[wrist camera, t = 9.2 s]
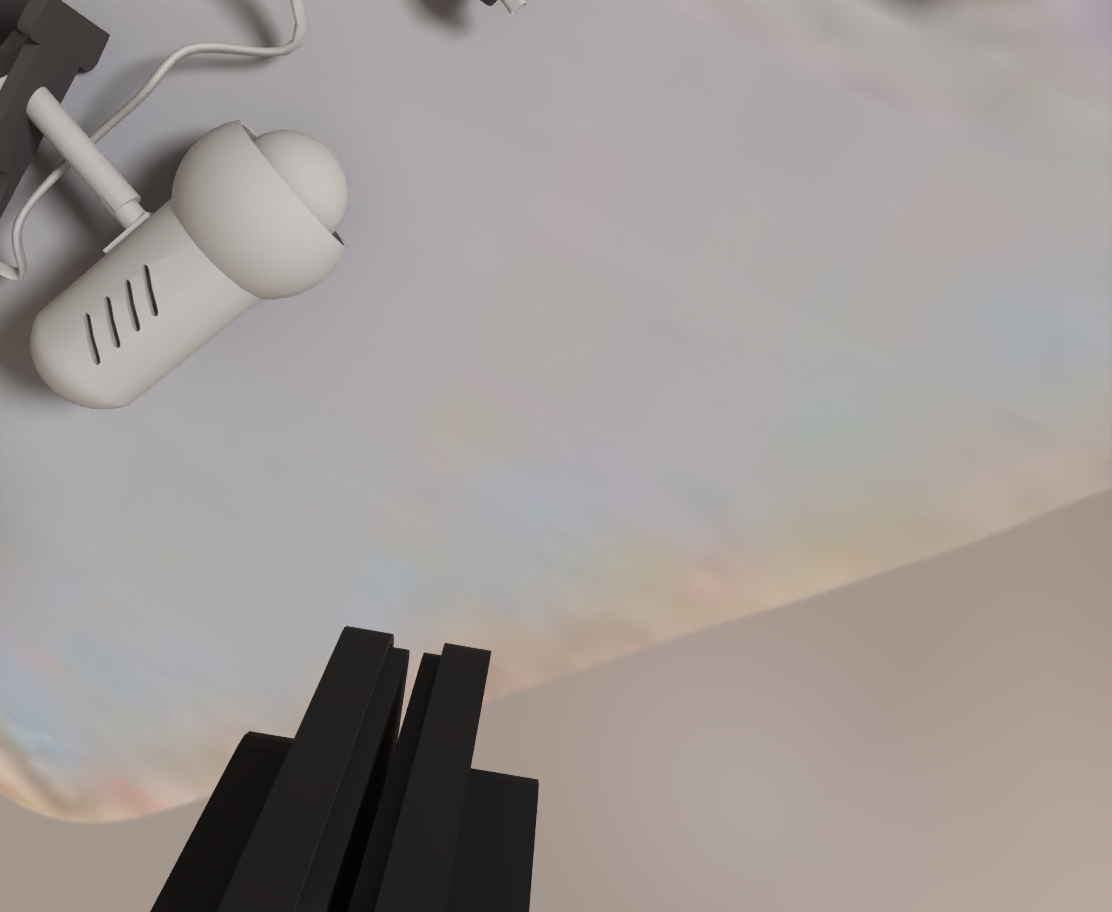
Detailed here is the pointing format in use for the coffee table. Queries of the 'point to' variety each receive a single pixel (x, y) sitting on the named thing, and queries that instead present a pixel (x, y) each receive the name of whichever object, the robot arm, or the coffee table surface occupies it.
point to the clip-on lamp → (161, 217)
